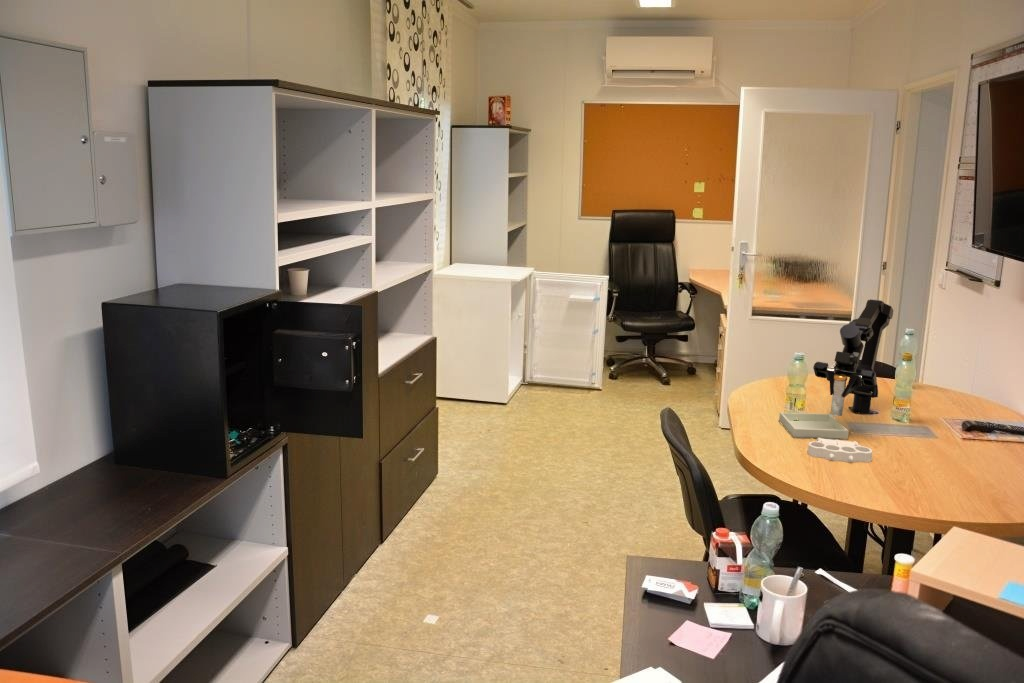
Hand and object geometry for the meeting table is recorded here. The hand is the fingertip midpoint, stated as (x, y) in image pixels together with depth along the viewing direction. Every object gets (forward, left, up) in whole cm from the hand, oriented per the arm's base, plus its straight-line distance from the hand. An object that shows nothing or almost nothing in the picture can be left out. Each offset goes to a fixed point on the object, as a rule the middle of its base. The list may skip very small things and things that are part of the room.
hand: (837, 395), depth 259 cm
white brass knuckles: (+17, -4, -14) cm, 22 cm away
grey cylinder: (-1, +1, -7) cm, 7 cm away
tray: (-5, -5, -14) cm, 15 cm away
